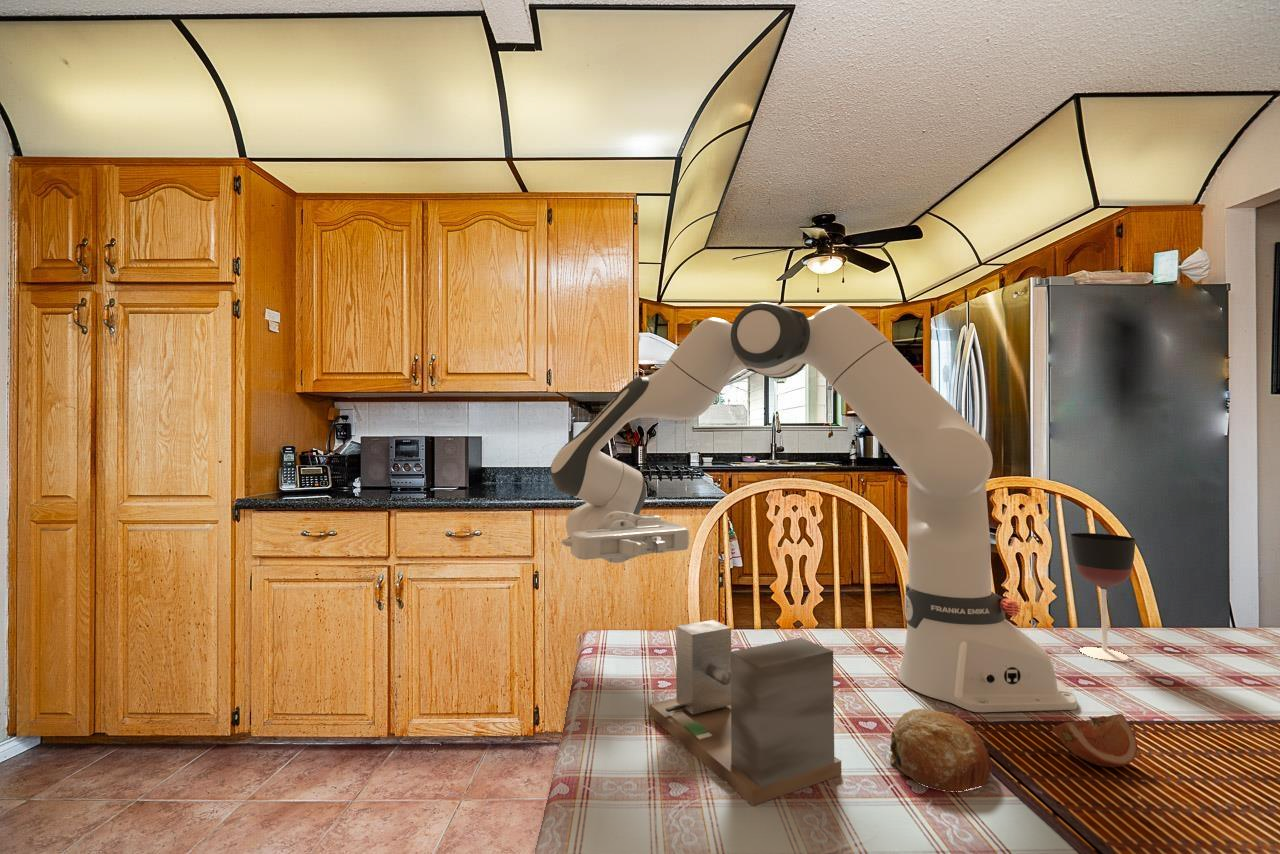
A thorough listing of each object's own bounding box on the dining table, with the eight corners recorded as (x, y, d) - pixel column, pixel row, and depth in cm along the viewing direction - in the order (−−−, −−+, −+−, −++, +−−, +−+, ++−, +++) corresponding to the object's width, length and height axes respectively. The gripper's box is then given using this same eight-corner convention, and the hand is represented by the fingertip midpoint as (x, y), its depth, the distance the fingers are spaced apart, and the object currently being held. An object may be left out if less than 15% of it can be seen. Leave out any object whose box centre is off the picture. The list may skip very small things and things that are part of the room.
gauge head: (659, 706, 77) (659, 628, 77) (714, 693, 81) (713, 619, 81) (687, 729, 70) (687, 645, 71) (745, 714, 74) (745, 634, 75)
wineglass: (1073, 643, 106) (1070, 531, 107) (1136, 652, 101) (1132, 536, 102) (1073, 655, 100) (1070, 537, 100) (1140, 667, 95) (1137, 542, 95)
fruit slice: (1090, 781, 63) (1089, 734, 63) (1036, 749, 69) (1035, 706, 70) (1153, 772, 65) (1152, 726, 65) (1094, 742, 71) (1093, 700, 71)
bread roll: (889, 777, 70) (860, 717, 70) (962, 736, 71) (934, 677, 71) (938, 832, 60) (905, 761, 60) (1022, 783, 61) (990, 714, 61)
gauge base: (649, 715, 78) (649, 613, 79) (723, 697, 84) (723, 601, 84) (753, 805, 59) (751, 668, 59) (841, 774, 64) (839, 649, 64)
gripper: (558, 521, 98) (589, 532, 86) (664, 514, 108) (707, 523, 95) (558, 559, 98) (589, 576, 86) (665, 549, 107) (707, 563, 95)
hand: (652, 548), depth 91 cm, fingers closed
